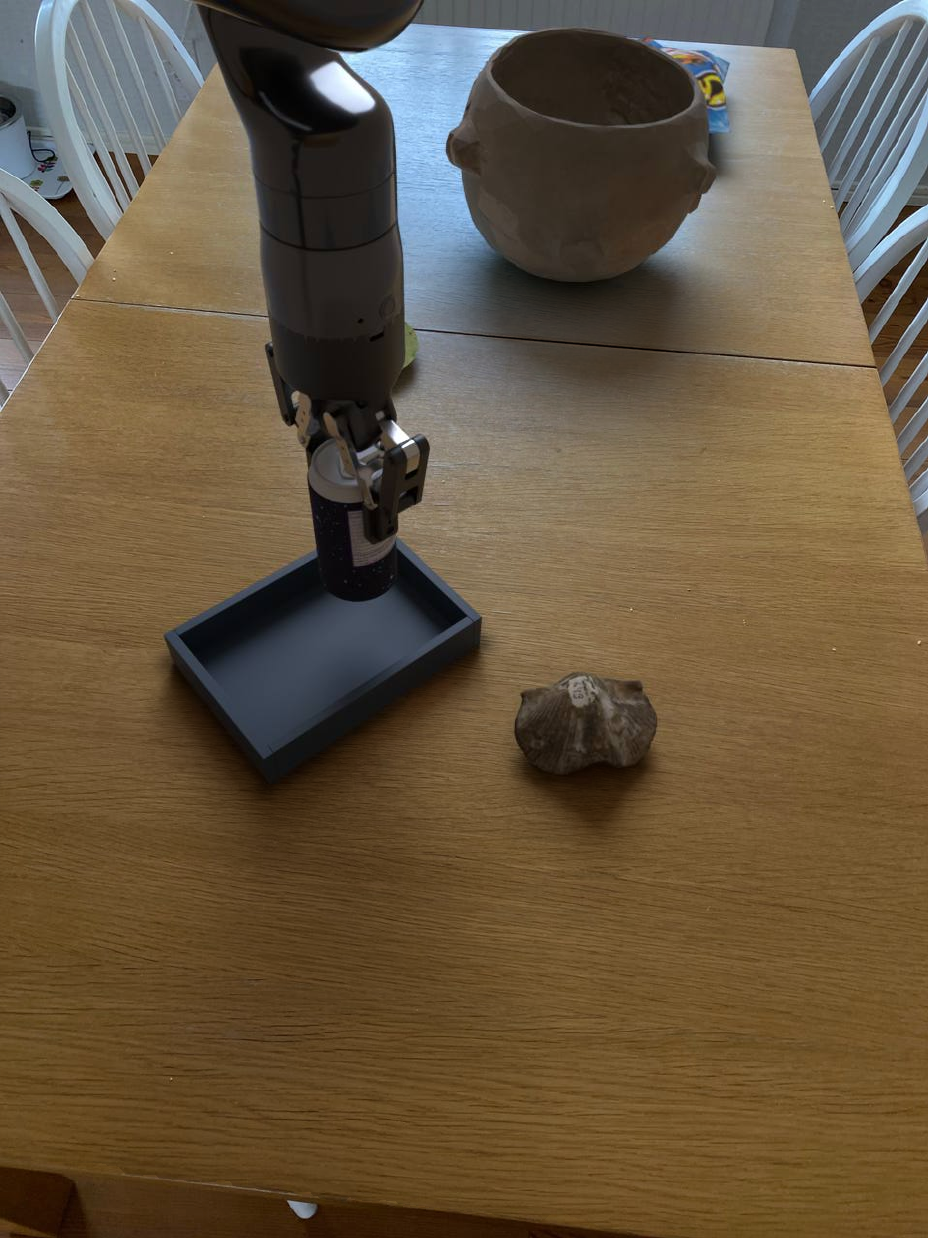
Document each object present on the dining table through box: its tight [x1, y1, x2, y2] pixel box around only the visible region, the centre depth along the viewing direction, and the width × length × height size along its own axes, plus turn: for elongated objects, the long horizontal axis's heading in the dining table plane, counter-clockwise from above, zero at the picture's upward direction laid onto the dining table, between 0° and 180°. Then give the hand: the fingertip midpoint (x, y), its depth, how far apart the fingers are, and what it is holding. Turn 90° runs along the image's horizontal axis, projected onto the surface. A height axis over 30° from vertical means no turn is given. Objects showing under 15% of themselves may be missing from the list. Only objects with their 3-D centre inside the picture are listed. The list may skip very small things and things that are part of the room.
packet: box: [637, 35, 731, 135], centre depth 128 cm, size 17×24×8 cm
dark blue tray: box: [163, 535, 483, 785], centre depth 74 cm, size 20×14×4 cm
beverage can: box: [306, 438, 397, 602], centre depth 67 cm, size 6×6×12 cm
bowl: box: [445, 26, 717, 283], centre depth 103 cm, size 27×29×20 cm
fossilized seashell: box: [513, 671, 658, 776], centre depth 69 cm, size 8×7×10 cm
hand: (353, 509), depth 65 cm, fingers closed on beverage can, 5 cm apart
